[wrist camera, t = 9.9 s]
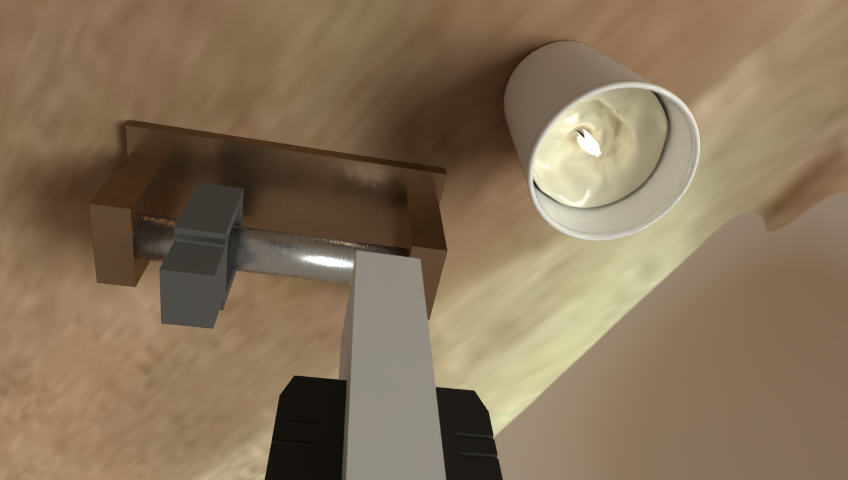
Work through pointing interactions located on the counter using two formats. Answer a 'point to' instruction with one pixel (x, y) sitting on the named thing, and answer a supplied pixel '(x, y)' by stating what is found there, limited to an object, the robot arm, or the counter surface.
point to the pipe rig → (268, 207)
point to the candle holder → (598, 141)
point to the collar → (200, 257)
